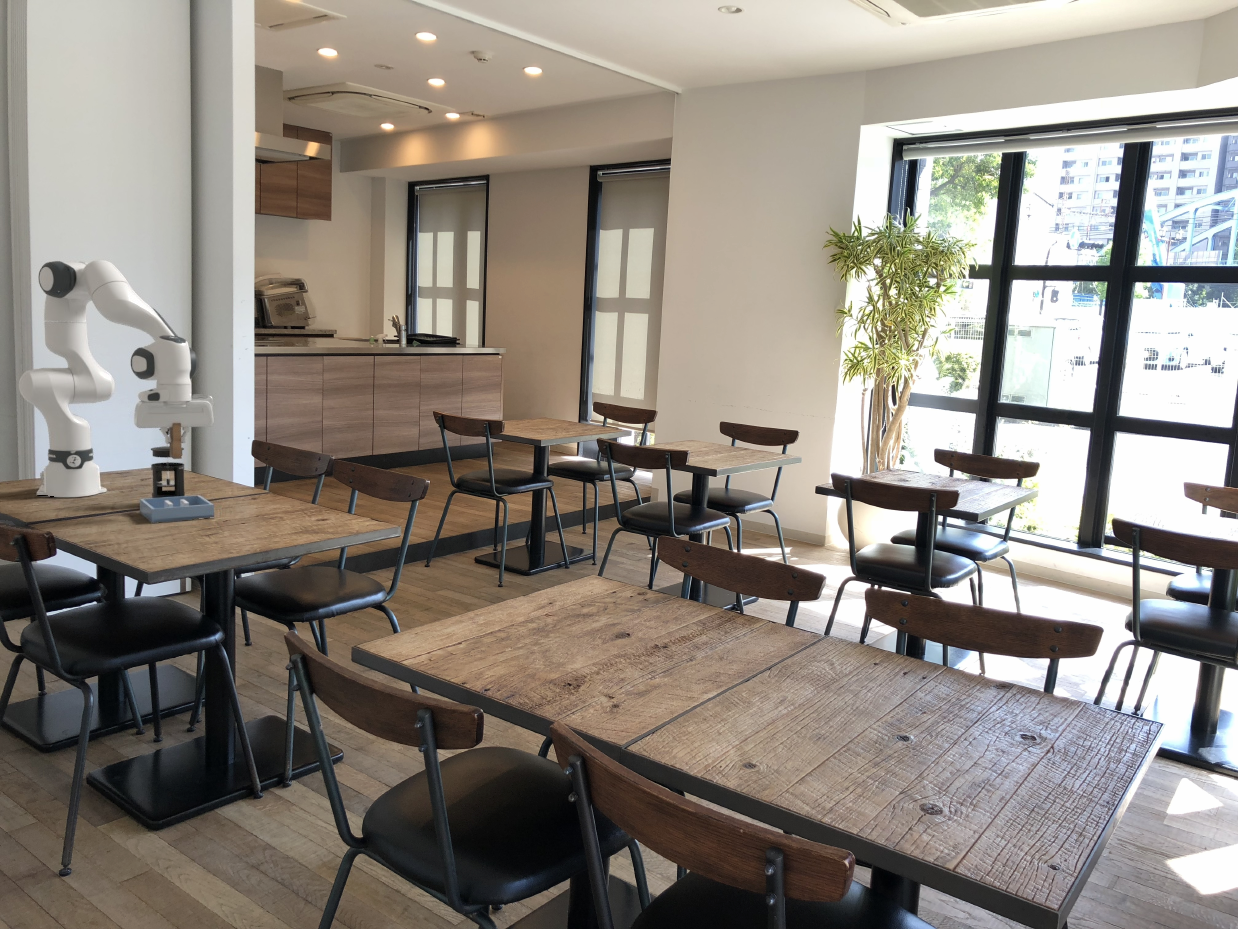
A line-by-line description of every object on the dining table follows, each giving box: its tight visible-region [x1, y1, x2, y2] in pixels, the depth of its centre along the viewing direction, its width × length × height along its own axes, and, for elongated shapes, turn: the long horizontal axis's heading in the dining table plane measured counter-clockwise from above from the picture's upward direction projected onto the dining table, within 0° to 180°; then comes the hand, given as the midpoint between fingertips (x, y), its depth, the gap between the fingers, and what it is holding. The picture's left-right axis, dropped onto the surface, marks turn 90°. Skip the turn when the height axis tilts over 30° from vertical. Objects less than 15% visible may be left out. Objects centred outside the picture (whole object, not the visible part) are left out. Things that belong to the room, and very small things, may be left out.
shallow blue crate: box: [139, 494, 215, 524], centre depth 263 cm, size 16×16×4 cm
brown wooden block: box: [168, 423, 183, 460], centre depth 260 cm, size 5×2×10 cm, turn 38°
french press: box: [150, 428, 186, 498], centre depth 277 cm, size 12×9×23 cm
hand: (175, 443), depth 261 cm, fingers closed on brown wooden block, 2 cm apart
